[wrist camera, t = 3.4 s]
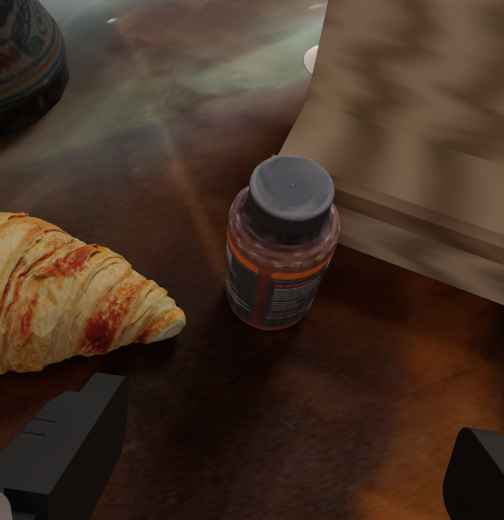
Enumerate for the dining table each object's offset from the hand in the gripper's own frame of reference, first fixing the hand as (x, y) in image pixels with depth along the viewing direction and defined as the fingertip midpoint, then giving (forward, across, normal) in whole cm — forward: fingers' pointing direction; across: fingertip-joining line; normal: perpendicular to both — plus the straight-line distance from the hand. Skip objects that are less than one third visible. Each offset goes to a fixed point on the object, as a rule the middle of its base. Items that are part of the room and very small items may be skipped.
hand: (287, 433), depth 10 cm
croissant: (+16, +16, +6) cm, 23 cm away
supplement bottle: (+19, 0, +3) cm, 19 cm away
